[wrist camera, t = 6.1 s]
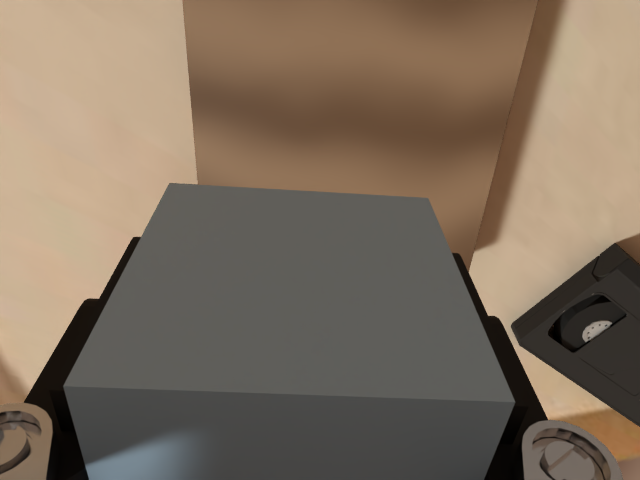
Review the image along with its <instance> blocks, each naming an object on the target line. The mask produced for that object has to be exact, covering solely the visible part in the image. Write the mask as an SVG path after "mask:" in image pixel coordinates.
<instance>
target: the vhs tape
mask: <svg viewBox="0 0 640 480" xmlns="http://www.w3.org/2000/svg"><path fill="white" fill-rule="evenodd" d="M553 323H554V331H555V332H556V334H557V336H558V338H559V339H560V341H561V343H562V345H563V346H562V345H561V344H559V343H558V342H557V341H555V340H554V339H552V338H551V337H550V336H548V330H549V329H550V328H551V326H552V325H553ZM511 328H512V330H513V332H514V335H515V337H516V339H517V341H518V343H519V345H520V346H521V347H523V348H524V349H526V350H527V351H529V352H530V353H532V354H533V355H535V356H536V357H537V358H539V359H540V360H542V361H543V362H545V363H546V364H548V365H549V366H551V367H552V368H554V369H555V370H557V371H558V372H560V373H561V374H563V375H564V376H565V377H567V378H568V379H570V380H571V381H573V382H574V383H576V384H577V385H579V386H580V387H582V388H583V389H585V390H586V391H588V392H589V393H591V394H592V395H593V396H595V397H596V398H598V399H599V400H601V401H602V402H604V403H605V404H607V405H608V406H610V407H611V408H613V409H614V410H616V411H617V412H619V413H620V414H621V415H623V416H624V417H626V418H627V419H629V420H630V421H632V422H633V423H635V424H636V425H638V426H639V427H640V264H639V263H637V262H636V261H635V260H634V259H633V258H632V257H631V256H629V255H628V254H627V253H626V252H625V251H624V250H623V249H621V248H620V247H619V246H618V245H617V244H616V243H614V244H613V245H611V246H610V247H609V248H608V249H606V250H605V251H604V252H602V253H601V254H600V256H597V257H596V258H595V259H594V260H592V261H591V262H590V263H588V264H587V265H586V266H585V267H583V268H582V269H581V270H580V271H578V272H577V273H576V274H575V275H573V276H572V277H571V278H569V279H568V280H567V281H566V282H564V283H563V284H562V285H561V286H559V287H558V288H557V289H555V290H554V291H553V292H551V293H550V294H549V295H548V296H546V297H545V298H544V299H542V300H541V301H540V302H539V303H537V304H536V305H535V306H534V307H532V308H531V309H530V310H528V311H527V312H526V313H525V314H523V315H522V316H521V317H519V318H518V319H517V320H516V321H514V322H513V323H512V325H511Z"/></svg>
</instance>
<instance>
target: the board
mask: <svg viewBox="0 0 640 480" xmlns="http://www.w3.org/2000/svg"><path fill="white" fill-rule="evenodd" d="M537 3H538V0H183V12H184V24H185V36H186V48H187V60H188V72H189V84H190V96H191V108H192V120H193V132H194V144H195V156H196V168H197V180H198V185H213V186H230V187H248V188H265V189H282V190H300V191H317V192H335V193H352V194H370V195H387V196H405V197H422V198H428V199H429V201H430V203H431V206H432V208H433V210H434V213H435V215H436V217H437V220H438V222H439V224H440V227H441V229H442V231H443V234H444V236H445V238H446V241H447V243H448V246H449V248H450V250H451V253H459V254H460V255H461V257H462V259H463V262H464V264H465V266H466V268H467V270H468V272H469V269H470V265H471V261H472V257H473V253H474V249H475V245H476V241H477V237H478V233H479V230H480V226H481V222H482V218H483V214H484V210H485V206H486V202H487V198H488V194H489V191H490V187H491V183H492V179H493V175H494V171H495V167H496V163H497V159H498V155H499V152H500V148H501V144H502V140H503V136H504V132H505V128H506V124H507V120H508V116H509V112H510V109H511V105H512V101H513V97H514V93H515V89H516V85H517V81H518V77H519V73H520V70H521V66H522V62H523V58H524V54H525V50H526V46H527V42H528V38H529V34H530V31H531V27H532V23H533V19H534V15H535V11H536V7H537Z"/></svg>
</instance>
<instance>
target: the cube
mask: <svg viewBox="0 0 640 480" xmlns="http://www.w3.org/2000/svg"><path fill="white" fill-rule="evenodd" d="M63 387H64V391H65V395H66V398H67V402H68V405H69V409H70V413H71V416H72V420H73V423H74V427H75V431H76V434H77V438H78V441H79V445H80V449H81V452H82V456H83V459H84V463H85V467H86V470H87V474H88V477H89V480H484V478H485V476H486V473H487V471H488V468H489V466H490V463H491V461H492V458H493V456H494V453H495V451H496V448H497V446H498V444H499V441H500V439H501V436H502V434H503V431H504V429H505V426H506V424H507V421H508V419H509V417H510V414H511V412H512V409H513V407H514V404H515V400H514V398H513V396H512V393H511V391H510V388H509V386H508V384H507V381H506V379H505V377H504V374H503V372H502V370H501V367H500V365H499V363H498V360H497V358H496V356H495V353H494V351H493V349H492V346H491V344H490V342H489V339H488V337H487V335H486V332H485V330H484V328H483V325H482V323H481V321H480V318H479V316H478V313H477V311H476V309H475V306H474V304H473V302H472V299H471V297H470V295H469V292H468V290H467V288H466V285H465V283H464V281H463V278H462V276H461V274H460V271H459V269H458V267H457V264H456V262H455V260H454V257H453V255H452V253H451V250H450V248H449V246H448V243H447V241H446V238H445V236H444V234H443V231H442V229H441V227H440V224H439V222H438V220H437V217H436V215H435V213H434V210H433V208H432V206H431V203H430V201H429V199H428V198H422V197H405V196H387V195H370V194H352V193H335V192H317V191H300V190H282V189H265V188H248V187H230V186H213V185H195V184H178V183H169V185H168V187H167V189H166V191H165V193H164V195H163V196H162V198H161V200H160V202H159V204H158V206H157V208H156V210H155V212H154V214H153V216H152V217H151V219H150V221H149V223H148V225H147V227H146V229H145V231H144V233H143V235H142V237H141V238H140V240H139V242H138V244H137V246H136V248H135V250H134V252H133V254H132V256H131V258H130V259H129V261H128V263H127V265H126V267H125V269H124V271H123V273H122V275H121V277H120V279H119V280H118V282H117V284H116V286H115V288H114V290H113V292H112V294H111V296H110V298H109V300H108V301H107V303H106V305H105V307H104V309H103V311H102V313H101V315H100V317H99V319H98V321H97V323H96V324H95V326H94V328H93V330H92V332H91V334H90V336H89V338H88V340H87V342H86V344H85V345H84V347H83V349H82V351H81V353H80V355H79V357H78V359H77V361H76V363H75V365H74V366H73V368H72V370H71V372H70V374H69V376H68V378H67V380H66V382H65V384H64V386H63Z"/></svg>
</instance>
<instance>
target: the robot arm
mask: <svg viewBox="0 0 640 480" xmlns="http://www.w3.org/2000/svg"><path fill="white" fill-rule="evenodd" d="M140 238H141V237H133V239H132V240H131V242H130V244H129V245H128V247H127V249H126V251H125V253H124V254H123V256H122V258H121V260H120V262H119V264H118V265H117V267H116V269H115V271H114V273H113V274H112V276H111V278H110V280H109V282H108V284H107V285H106V287H105V289H104V291H103V293H102V294H101V296H100V298H99V299H87V300H85V301H84V302H83V303H82V305H81V306H80V308H79V309H78V311H77V313H76V314H75V316H74V318H73V320H72V321H71V323H70V325H69V326H68V328H67V330H66V331H65V333H64V335H63V337H62V338H61V340H60V342H59V343H58V345H57V347H56V348H55V350H54V352H53V354H52V355H51V357H50V359H49V360H48V362H47V364H46V365H45V367H44V369H43V371H42V372H41V374H40V376H39V377H38V379H37V381H36V382H35V384H34V386H33V388H32V389H31V391H30V393H29V394H28V396H27V398H26V399H25V401H24V403H9V404H4V405H0V480H89V477H88V474H87V470H86V467H85V463H84V459H83V456H82V452H81V449H80V445H79V441H78V438H77V434H76V431H75V427H74V423H73V420H72V416H71V413H70V409H69V405H68V402H67V398H66V395H65V391H64V387H63V386H64V384H65V382H66V380H67V378H68V376H69V374H70V372H71V370H72V368H73V366H74V365H75V363H76V361H77V359H78V357H79V355H80V353H81V351H82V349H83V347H84V345H85V344H86V342H87V340H88V338H89V336H90V334H91V332H92V330H93V328H94V326H95V324H96V323H97V321H98V319H99V317H100V315H101V313H102V311H103V309H104V307H105V305H106V303H107V301H108V300H109V298H110V296H111V294H112V292H113V290H114V288H115V286H116V284H117V282H118V280H119V279H120V277H121V275H122V273H123V271H124V269H125V267H126V265H127V263H128V261H129V259H130V258H131V256H132V254H133V252H134V250H135V248H136V246H137V244H138V242H139V240H140ZM452 255H453V257H454V260H455V262H456V264H457V267H458V269H459V271H460V274H461V276H462V278H463V281H464V283H465V285H466V288H467V290H468V292H469V295H470V297H471V299H472V302H473V304H474V306H475V309H476V311H477V313H478V316H479V318H480V321H481V323H482V325H483V328H484V330H485V332H486V335H487V337H488V339H489V342H490V344H491V346H492V349H493V351H494V353H495V356H496V358H497V360H498V363H499V365H500V367H501V370H502V372H503V374H504V377H505V379H506V381H507V384H508V386H509V388H510V391H511V393H512V396H513V398H514V400H515V404H514V407H513V409H512V412H511V414H510V417H509V419H508V421H507V424H506V426H505V429H504V431H503V434H502V436H501V439H500V441H499V444H498V446H497V448H496V451H495V453H494V456H493V458H492V461H491V463H490V466H489V468H488V471H487V473H486V476H485V478H484V480H623V477H622V473H621V470H620V468H619V466H618V463H617V461H616V459H615V458H614V456H613V455H612V454H611V452H610V451H609V450H608V449H607V447H606V446H605V445H604V444H603V443H601V442H600V441H599V440H598V439H597V438H596V437H594V436H593V435H592V434H590V433H588V432H587V431H585V430H583V429H582V428H580V427H578V426H575V425H572V424H569V423H567V422H563V421H555V420H548V419H547V417H546V414H545V412H544V410H543V408H542V406H541V404H540V402H539V400H538V398H537V396H536V394H535V391H534V389H533V387H532V385H531V383H530V381H529V379H528V377H527V375H526V373H525V370H524V368H523V366H522V364H521V362H520V360H519V358H518V356H517V354H516V352H515V349H514V347H513V345H512V343H511V341H510V339H509V337H508V335H507V333H506V331H505V328H504V326H503V324H502V323H501V321H500V320H499V318H497V317H495V316H488V315H487V313H486V310H485V308H484V306H483V304H482V301H481V299H480V297H479V295H478V293H477V290H476V288H475V286H474V284H473V282H472V279H471V277H470V275H469V273H468V270H467V268H466V266H465V264H464V262H463V259H462V257H461V255H460V254H459V253H452Z"/></svg>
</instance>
